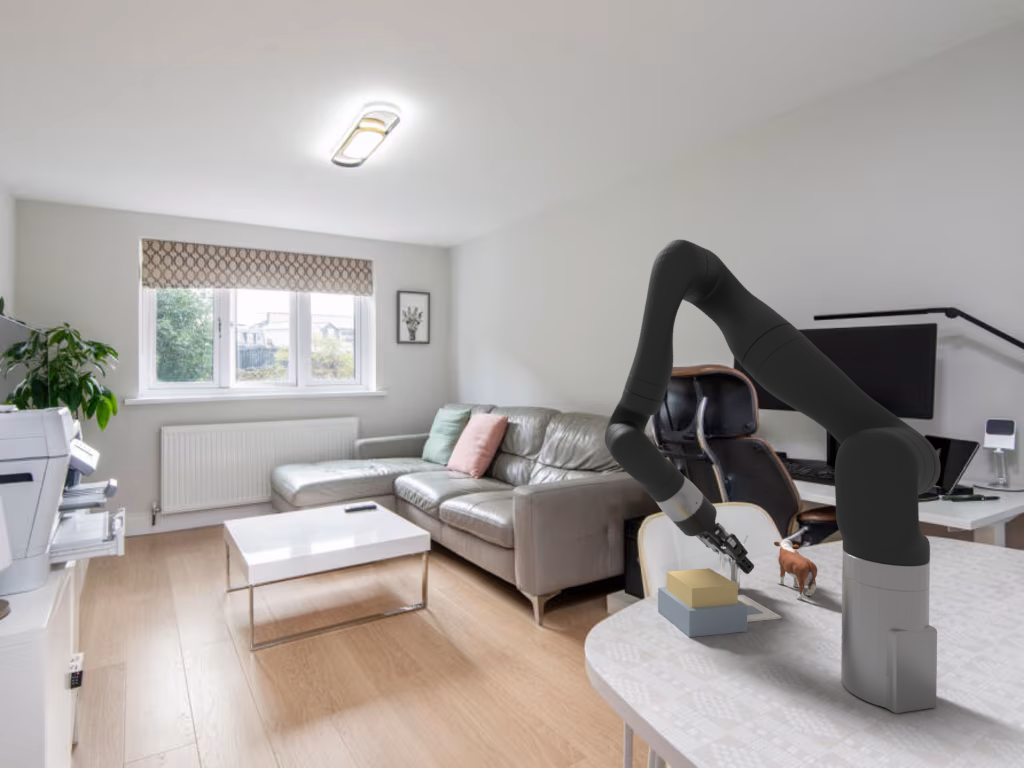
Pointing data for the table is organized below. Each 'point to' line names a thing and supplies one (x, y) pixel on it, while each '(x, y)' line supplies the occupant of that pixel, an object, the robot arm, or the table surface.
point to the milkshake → (730, 568)
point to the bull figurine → (796, 568)
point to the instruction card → (757, 610)
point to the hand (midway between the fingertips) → (741, 565)
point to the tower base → (702, 616)
